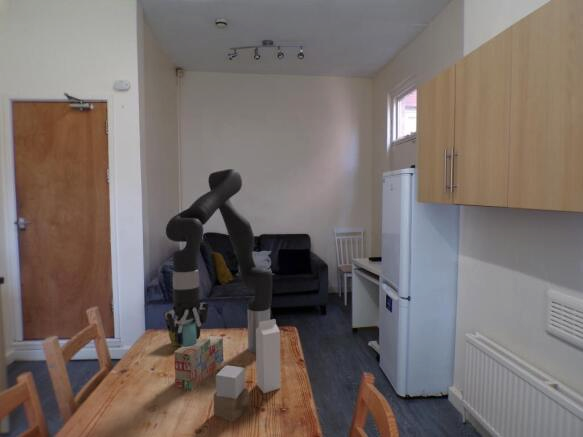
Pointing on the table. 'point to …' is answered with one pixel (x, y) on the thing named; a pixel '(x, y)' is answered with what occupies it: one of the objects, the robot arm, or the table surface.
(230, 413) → the walnut block
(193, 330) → the teal cylinder
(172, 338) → the flower pot
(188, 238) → the robot arm
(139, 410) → the table surface
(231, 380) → the grey block
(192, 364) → the stack of blocks
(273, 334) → the milk
